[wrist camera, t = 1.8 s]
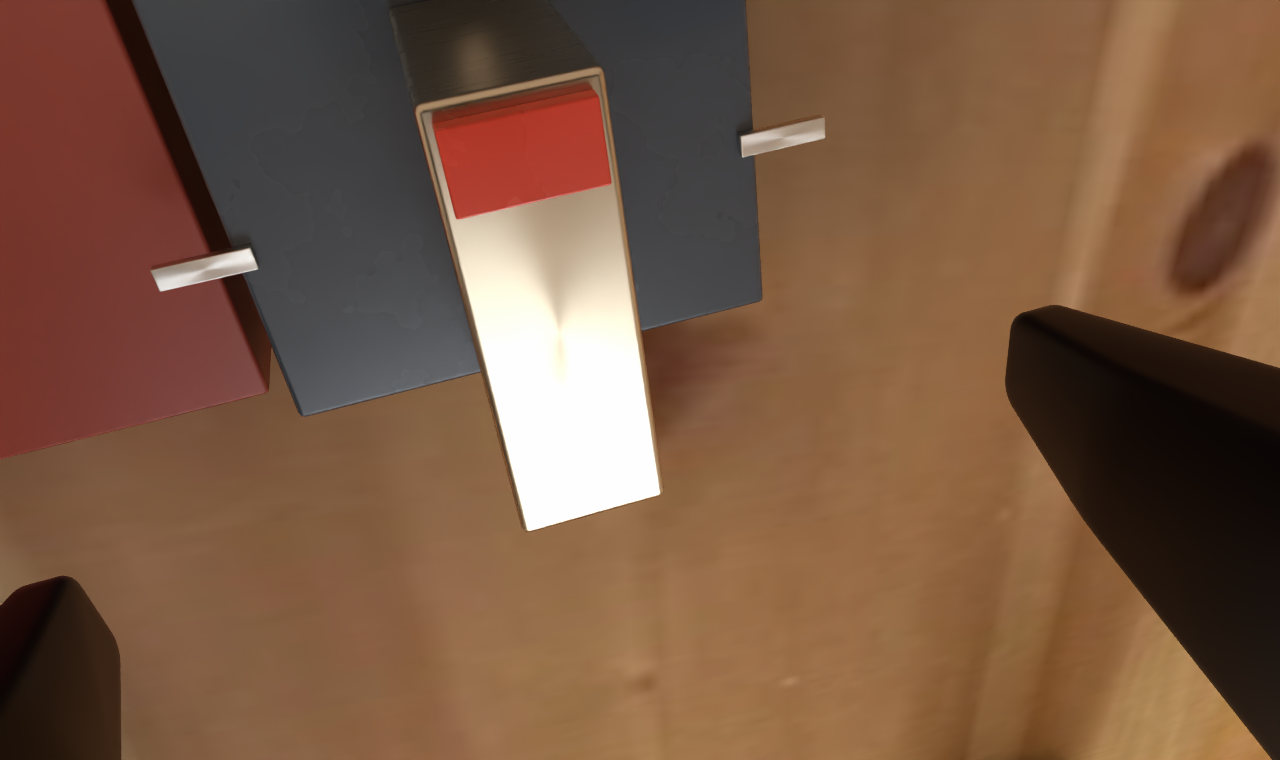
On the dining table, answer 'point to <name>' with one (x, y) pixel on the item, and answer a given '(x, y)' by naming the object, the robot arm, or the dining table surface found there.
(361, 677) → the dining table surface
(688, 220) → the dark grey panel
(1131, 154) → the dining table surface
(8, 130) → the button box
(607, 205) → the tan and red box
